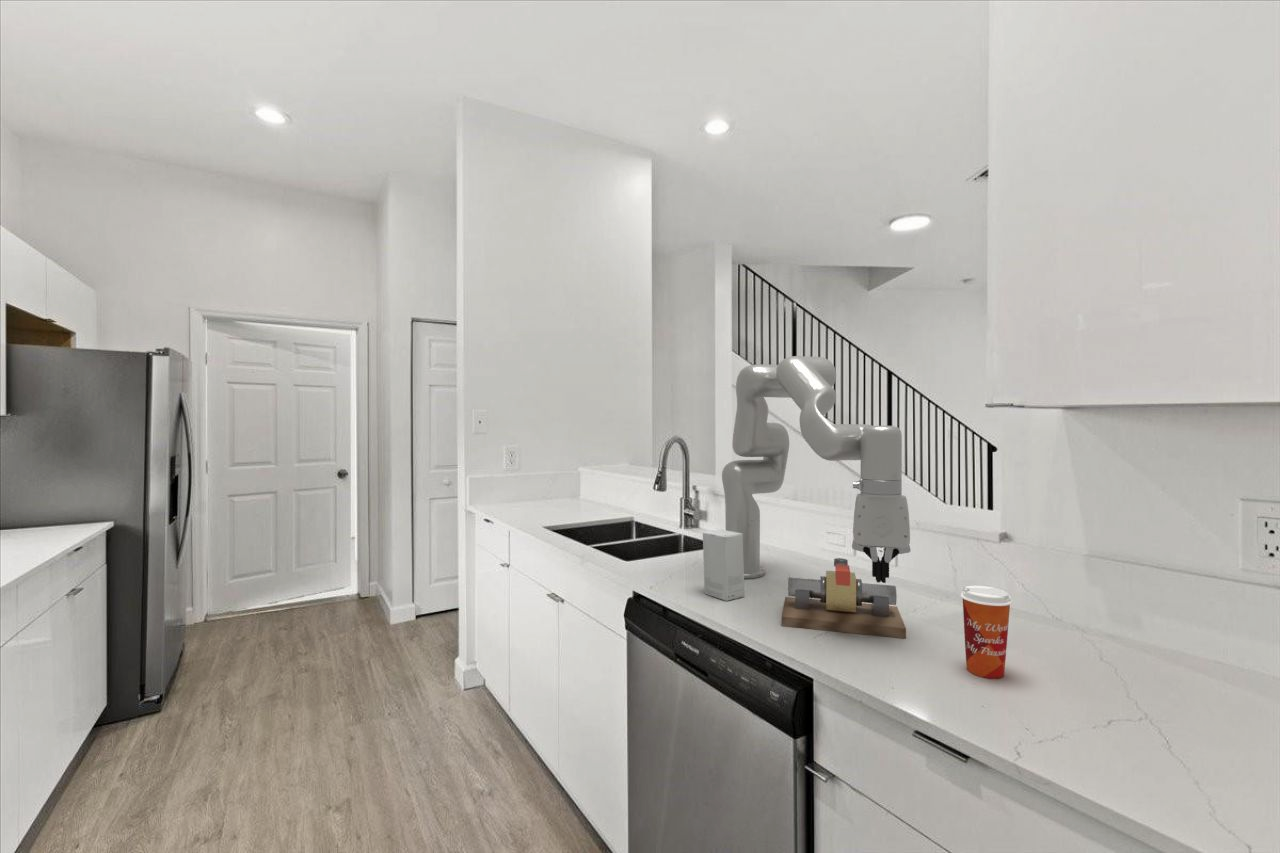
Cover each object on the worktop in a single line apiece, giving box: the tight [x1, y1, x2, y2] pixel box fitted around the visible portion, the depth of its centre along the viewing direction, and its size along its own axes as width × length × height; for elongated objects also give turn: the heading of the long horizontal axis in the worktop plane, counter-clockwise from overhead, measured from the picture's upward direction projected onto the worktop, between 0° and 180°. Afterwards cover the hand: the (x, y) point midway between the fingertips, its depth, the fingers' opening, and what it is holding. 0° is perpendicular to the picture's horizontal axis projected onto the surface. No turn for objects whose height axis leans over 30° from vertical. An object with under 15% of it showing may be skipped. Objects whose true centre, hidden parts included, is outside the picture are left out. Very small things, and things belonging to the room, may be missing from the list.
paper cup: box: [960, 585, 1014, 680], centre depth 102 cm, size 8×8×14 cm
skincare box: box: [702, 528, 745, 602], centre depth 145 cm, size 8×7×16 cm
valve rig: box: [781, 570, 907, 639], centre depth 127 cm, size 24×14×11 cm, turn 73°
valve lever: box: [833, 557, 851, 586], centre depth 123 cm, size 14×3×3 cm, turn 163°
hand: (880, 580), depth 117 cm, fingers closed
